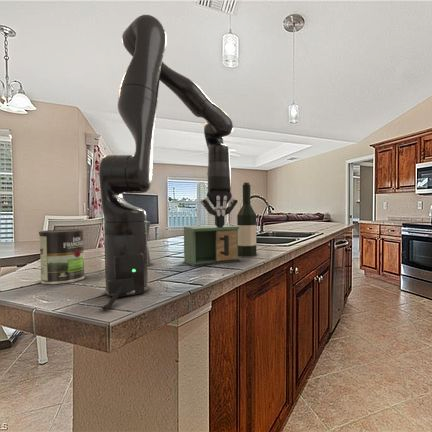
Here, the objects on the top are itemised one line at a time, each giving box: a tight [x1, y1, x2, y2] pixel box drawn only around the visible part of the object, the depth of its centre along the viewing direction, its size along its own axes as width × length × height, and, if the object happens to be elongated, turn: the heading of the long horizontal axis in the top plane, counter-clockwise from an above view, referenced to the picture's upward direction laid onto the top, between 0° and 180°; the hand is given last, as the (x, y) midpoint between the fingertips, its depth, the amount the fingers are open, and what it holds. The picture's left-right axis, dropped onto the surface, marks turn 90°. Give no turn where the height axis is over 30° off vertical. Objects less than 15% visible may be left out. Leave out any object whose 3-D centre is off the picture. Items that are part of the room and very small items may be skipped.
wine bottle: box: [236, 182, 257, 257], centre depth 134 cm, size 8×8×30 cm
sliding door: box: [216, 230, 237, 261], centre depth 114 cm, size 6×8×11 cm
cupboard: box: [183, 224, 240, 267], centre depth 118 cm, size 11×17×13 cm, turn 125°
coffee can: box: [38, 228, 86, 285], centre depth 91 cm, size 10×10×14 cm
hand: (219, 227), depth 109 cm, fingers closed
